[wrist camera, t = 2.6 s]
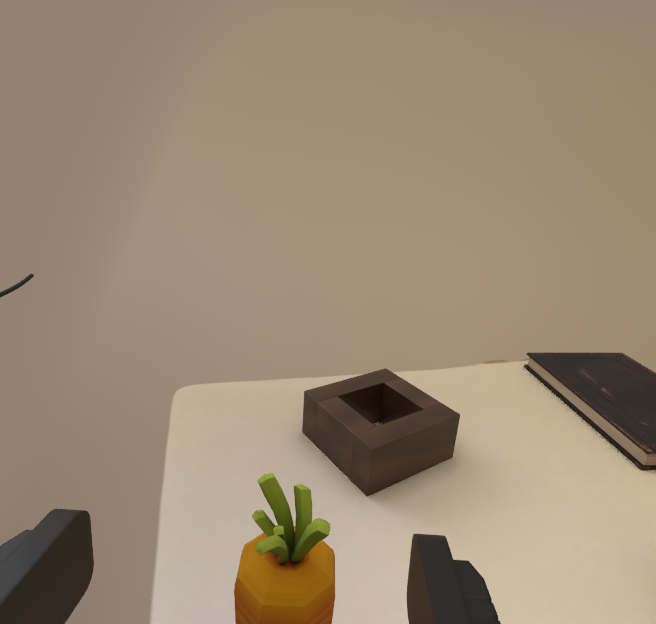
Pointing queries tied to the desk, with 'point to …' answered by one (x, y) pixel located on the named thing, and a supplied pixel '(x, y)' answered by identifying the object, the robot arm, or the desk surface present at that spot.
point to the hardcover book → (606, 397)
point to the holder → (379, 428)
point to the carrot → (286, 564)
